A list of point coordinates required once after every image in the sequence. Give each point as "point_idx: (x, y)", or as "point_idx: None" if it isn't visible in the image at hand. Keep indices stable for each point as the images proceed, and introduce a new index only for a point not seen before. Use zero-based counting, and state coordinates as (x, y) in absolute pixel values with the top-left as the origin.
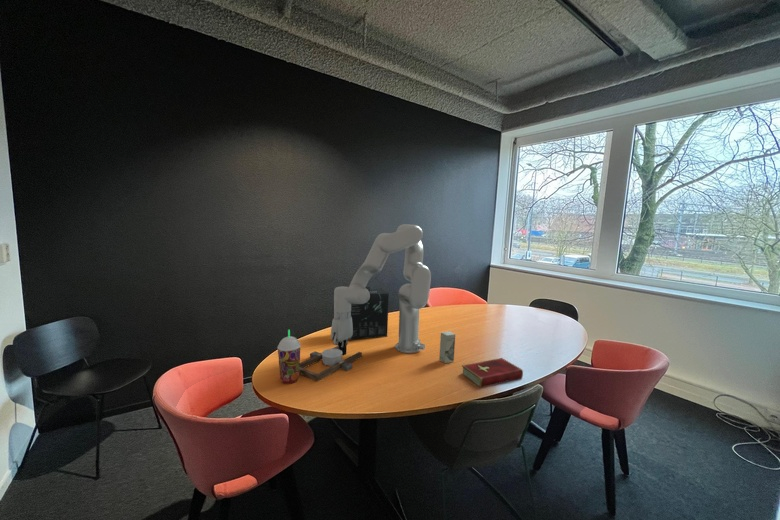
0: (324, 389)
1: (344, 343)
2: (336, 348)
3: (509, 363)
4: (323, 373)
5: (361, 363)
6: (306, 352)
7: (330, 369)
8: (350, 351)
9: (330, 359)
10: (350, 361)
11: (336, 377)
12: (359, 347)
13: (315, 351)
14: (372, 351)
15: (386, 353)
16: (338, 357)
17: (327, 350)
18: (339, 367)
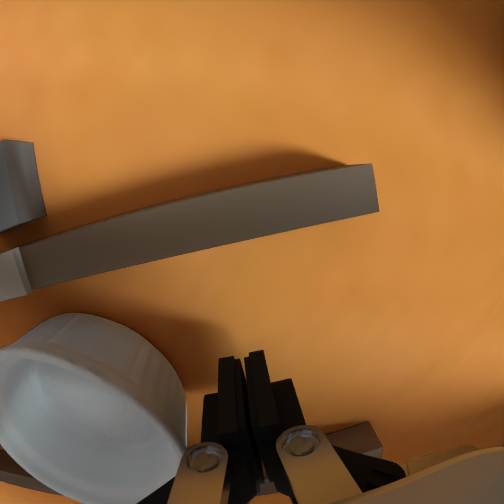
0: (14, 499)
1: (291, 494)
2: (281, 231)
3: None
4: (4, 479)
5: (282, 497)
6: (30, 27)
7: (40, 490)
8: (398, 304)
9: (48, 464)
10: None
11: (71, 500)
12: (494, 276)
13: (4, 148)
14: (474, 392)
15: (475, 441)
16: (113, 497)
17: (45, 359)
18: None
